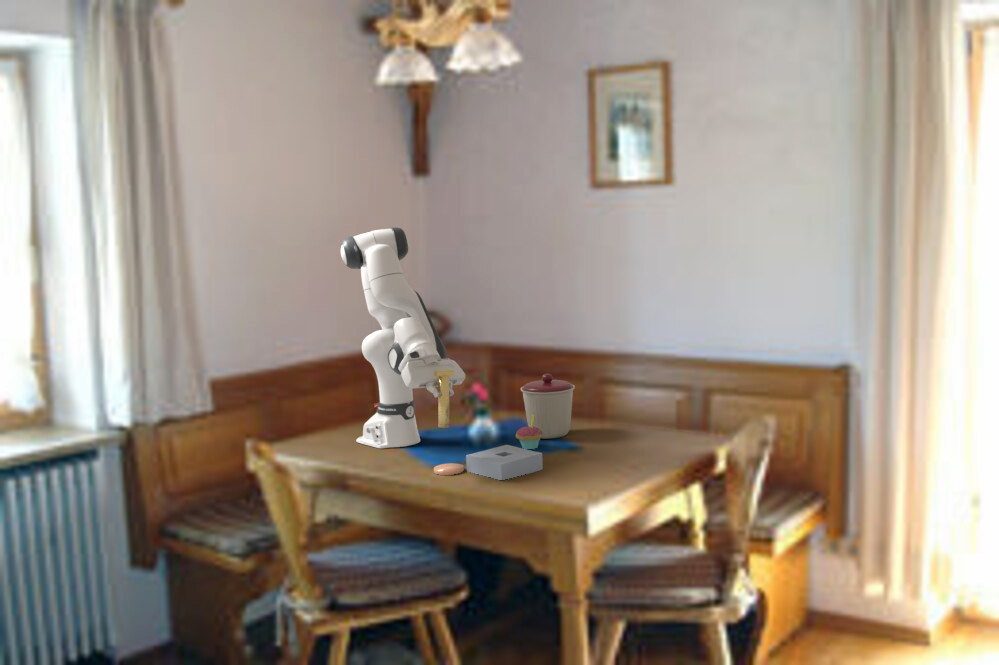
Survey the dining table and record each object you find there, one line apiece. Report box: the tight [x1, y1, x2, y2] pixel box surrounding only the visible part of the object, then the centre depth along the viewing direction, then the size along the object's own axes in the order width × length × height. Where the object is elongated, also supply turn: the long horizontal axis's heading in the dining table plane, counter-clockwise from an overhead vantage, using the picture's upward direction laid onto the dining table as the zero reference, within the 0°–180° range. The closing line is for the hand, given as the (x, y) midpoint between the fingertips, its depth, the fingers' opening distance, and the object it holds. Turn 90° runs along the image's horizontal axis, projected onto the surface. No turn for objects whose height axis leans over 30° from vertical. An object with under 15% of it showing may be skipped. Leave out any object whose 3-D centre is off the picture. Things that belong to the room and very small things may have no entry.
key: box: [434, 369, 454, 429], centre depth 305 cm, size 3×6×17 cm, turn 130°
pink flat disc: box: [433, 462, 465, 476], centre depth 310 cm, size 9×9×1 cm
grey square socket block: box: [465, 444, 544, 481], centre depth 307 cm, size 16×16×5 cm
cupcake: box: [515, 412, 543, 450], centre depth 332 cm, size 9×8×12 cm
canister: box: [520, 373, 576, 440], centre depth 347 cm, size 18×18×21 cm
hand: (444, 395), depth 305 cm, fingers closed on key, 3 cm apart
